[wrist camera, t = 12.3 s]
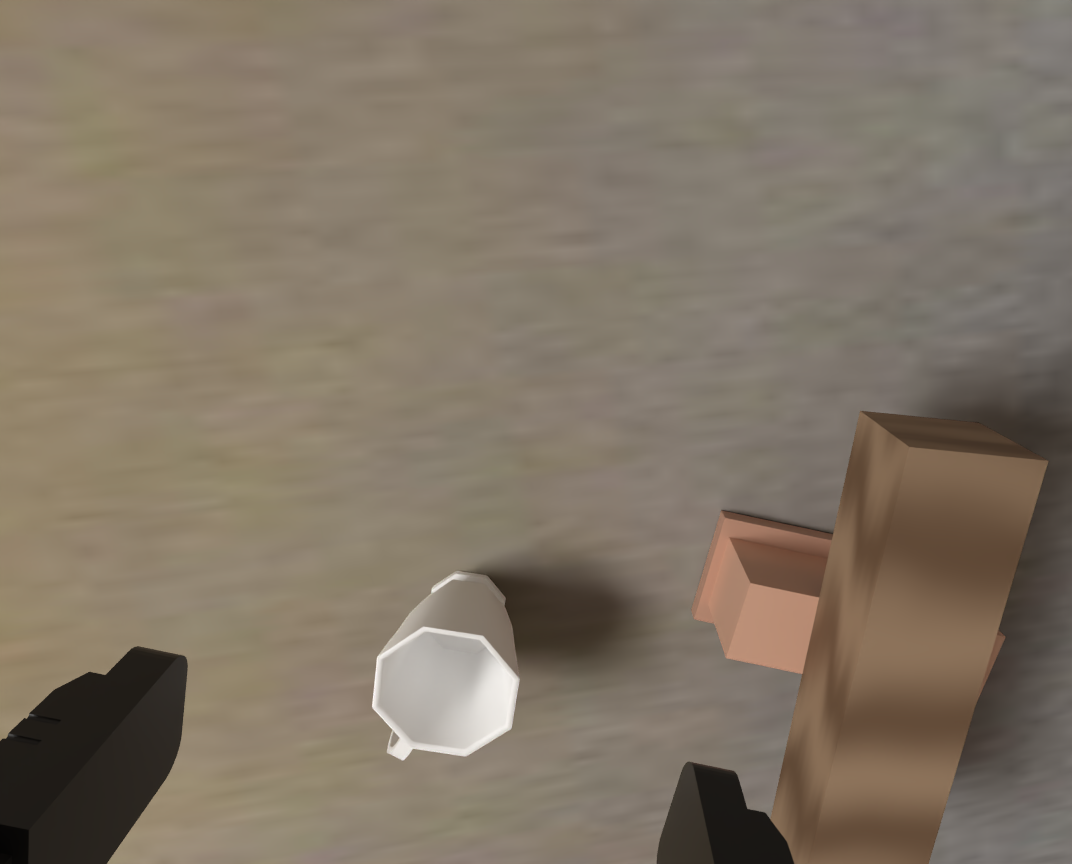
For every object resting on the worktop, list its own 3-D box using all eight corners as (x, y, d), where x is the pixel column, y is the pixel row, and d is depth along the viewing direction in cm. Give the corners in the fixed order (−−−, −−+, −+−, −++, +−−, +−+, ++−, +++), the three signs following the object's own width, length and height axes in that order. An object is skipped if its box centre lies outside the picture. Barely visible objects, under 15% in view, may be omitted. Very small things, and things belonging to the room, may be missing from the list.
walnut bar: (860, 410, 33) (909, 447, 28) (978, 422, 33) (1048, 460, 28) (767, 830, 39) (795, 917, 34) (867, 840, 39) (908, 930, 34)
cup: (554, 587, 43) (550, 673, 35) (465, 719, 45) (443, 826, 38) (442, 524, 42) (413, 598, 34) (358, 662, 44) (313, 759, 37)
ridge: (721, 510, 41) (745, 561, 35) (961, 561, 41) (1024, 620, 35) (691, 609, 43) (710, 673, 37) (921, 658, 43) (975, 729, 37)
